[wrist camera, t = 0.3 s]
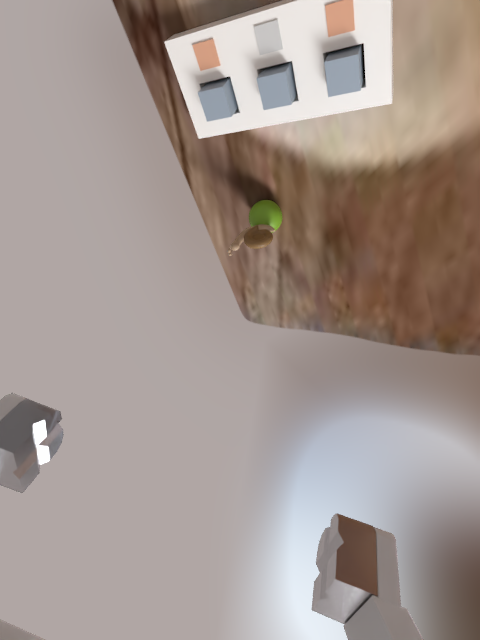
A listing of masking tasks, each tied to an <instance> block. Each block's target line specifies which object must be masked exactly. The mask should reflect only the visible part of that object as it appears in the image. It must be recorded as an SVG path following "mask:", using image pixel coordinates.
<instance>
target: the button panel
mask: <svg viewBox="0 0 480 640" xmlns="http://www.w3.org/2000/svg"><path fill="white" fill-rule="evenodd" d="M362 43H364V59H365V79H363V83H362V87H361V91H357V92H352V93H347V94H342V95H337V96H332V97H328V90H327V81H326V72H325V64H324V62H325V60H326V58H327V55H328V52H330V51H334V50H338V49H342V48H346V47H350V46H354V45H358V44H362ZM165 45H166V48H167V51H168V54H169V57H170V59H171V62H172V65H173V68H174V71H175V73H176V76H177V79H178V82H179V85H180V87H181V90H182V93H183V96H184V99H185V101H186V104H187V107H188V110H189V113H190V115H191V118H192V121H193V124H194V127H195V129H196V132H197V135H198V138H199V139H200V138H205V137H211V136H216V135H222V134H227V133H233V132H238V131H244V130H249V129H255V128H260V127H266V126H271V125H277V124H282V123H287V122H293V121H298V120H304V119H309V118H315V117H320V116H326V115H331V114H337V113H342V112H348V111H353V110H359V109H364V108H370V107H375V106H381V105H386V104H392V99H393V0H281V1H278V2H275V3H272V4H269V5H266V6H262V7H259V8H256V9H253V10H250V11H247V12H244V13H240V14H237V15H234V16H231V17H228V18H225V19H222V20H218V21H215V22H212V23H209V24H206V25H203V26H199V27H196V28H193V29H190V30H187V31H184V32H181V33H177V34H174V35H173V36H171V37H170V38H169V39H167V40H166V41H165ZM290 61H292V64H293V70H294V76H295V82H296V88H297V95H296V97H295V99H294V101H293V103H292V105H287V106H282V107H277V108H273V109H268V110H263V105H262V101H261V96H260V92H259V88H258V83H257V79H256V78H257V77H258V76H259V74H260V73H261V72H262V70H263V69H265V67H269V66H273V65H277V64H281V63H286V62H290ZM229 76H230V78H231V82H232V85H233V89H234V93H235V97H236V100H237V104H238V109H237V110H236V111H235V113H234V114H233V116H232V117H228V118H223V119H218V120H213V121H208V122H207V120H206V117H205V114H204V111H203V108H202V105H201V102H200V99H199V96H198V92H199V91H200V89H201V88H202V87H203V86H204V85H205V84H206V83H209V81H213V80H217V79H221V78H225V77H229Z"/></svg>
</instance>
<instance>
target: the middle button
mask: <svg viewBox="0 0 480 640" xmlns="http://www.w3.org/2000/svg"><path fill="white" fill-rule="evenodd" d="M256 79H257V83H258V88H259V92H260V96H261V101H262V105H263V110H268V109H273V108H277V107H282V106H287V105H292V103H293V101H294V99H295V97H296V95H297V92H296V86H295V80H294V74H293V68H292V62H290V63H286V64H282V65H278V66H274V67H270V68H266V69H263V70H262V72H261V73H260V74H259V76H258V77H257V78H256Z"/></svg>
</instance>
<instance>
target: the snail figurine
mask: <svg viewBox="0 0 480 640" xmlns="http://www.w3.org/2000/svg"><path fill="white" fill-rule="evenodd" d="M249 222H250V225H251V227H248V228H246V229H245V230H244V231H242V232H241V233H240V234H239V235H238V237H237V238H236V239H235V241H234V242H233V243H232V244H231V246H230V248H231V249H232V250H234V251H236V250H238V249H239V247H240V244H241V243H242V242H243V241H244V242H245V244H246V245H247V246H248V247H250V248H253V249H258V248H263V247H265V246H267V245H269V244H270V243H271V241H272V239H273V235H272V233H273V232H274V231H276V230H277V229H278V228H279V226H280V225H281V222H282V212H281V209H280V207H279V206H278V205H277V204H276V203H275V202H273V201H270V200H262V201H259V202H257V203H256V204H255V205H254V206H253V207H252V208H251V210H250V213H249ZM227 252H228V253H229V254H228V255H229V256H231V255H232V254H231V250H230V249H228V250H227Z"/></svg>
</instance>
